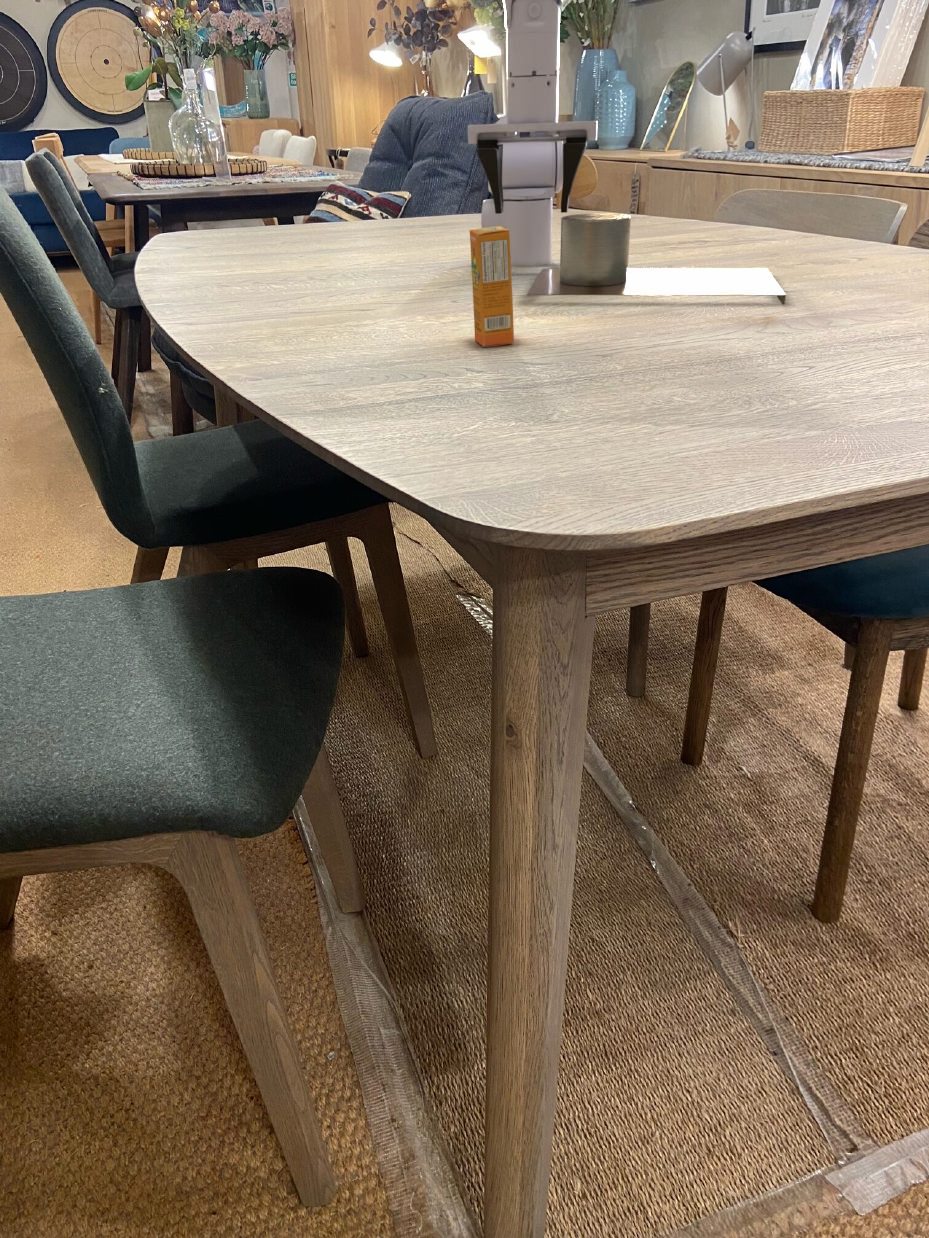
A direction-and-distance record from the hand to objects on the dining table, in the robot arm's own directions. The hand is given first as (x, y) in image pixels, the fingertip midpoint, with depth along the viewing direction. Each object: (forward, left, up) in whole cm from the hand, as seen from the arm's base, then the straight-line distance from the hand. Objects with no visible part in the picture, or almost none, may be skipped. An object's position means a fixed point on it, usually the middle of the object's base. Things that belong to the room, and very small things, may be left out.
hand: (531, 212), depth 104 cm
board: (+15, -1, -8) cm, 17 cm away
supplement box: (0, -29, -9) cm, 30 cm away
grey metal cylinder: (+8, -1, -8) cm, 11 cm away
